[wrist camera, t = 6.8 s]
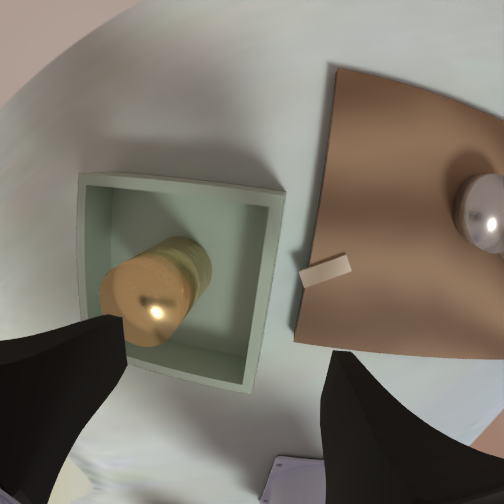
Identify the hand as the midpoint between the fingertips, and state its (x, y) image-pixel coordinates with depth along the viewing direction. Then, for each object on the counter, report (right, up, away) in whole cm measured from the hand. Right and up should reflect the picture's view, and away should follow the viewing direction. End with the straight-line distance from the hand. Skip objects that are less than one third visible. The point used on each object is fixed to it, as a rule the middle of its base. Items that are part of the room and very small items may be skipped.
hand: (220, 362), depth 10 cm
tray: (-3, +3, +10) cm, 10 cm away
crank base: (+14, +5, +7) cm, 16 cm away
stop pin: (-3, +3, +9) cm, 10 cm away
